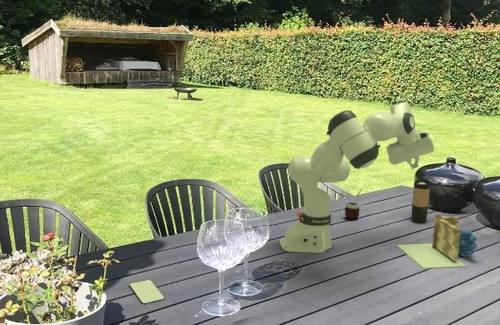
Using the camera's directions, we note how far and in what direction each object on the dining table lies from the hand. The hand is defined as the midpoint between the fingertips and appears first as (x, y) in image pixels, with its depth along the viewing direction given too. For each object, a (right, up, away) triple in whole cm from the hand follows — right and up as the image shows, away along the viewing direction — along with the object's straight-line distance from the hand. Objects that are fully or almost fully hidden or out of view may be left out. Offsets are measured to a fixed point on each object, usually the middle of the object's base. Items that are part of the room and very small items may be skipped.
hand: (414, 167), depth 225 cm
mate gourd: (-21, -26, +31) cm, 46 cm away
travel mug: (+11, -27, +29) cm, 42 cm away
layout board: (+2, -36, -13) cm, 39 cm away
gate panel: (+8, -35, -14) cm, 39 cm away
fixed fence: (+11, -34, -5) cm, 36 cm away
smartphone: (-108, -43, -49) cm, 126 cm away
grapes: (+16, -37, -14) cm, 42 cm away
